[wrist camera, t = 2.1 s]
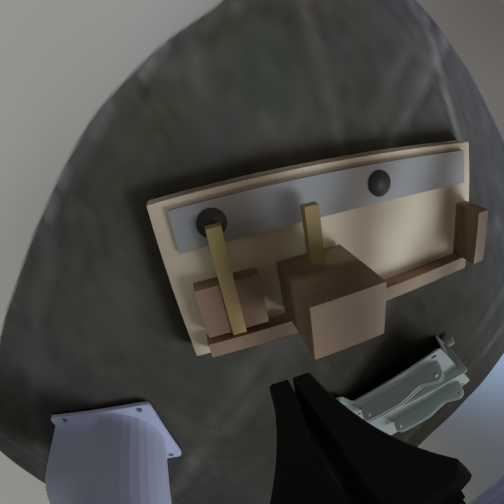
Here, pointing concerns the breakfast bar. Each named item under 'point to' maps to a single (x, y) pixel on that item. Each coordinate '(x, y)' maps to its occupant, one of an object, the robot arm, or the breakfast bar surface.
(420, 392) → the metal bracket
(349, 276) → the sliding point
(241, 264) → the gauge board
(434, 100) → the breakfast bar surface
